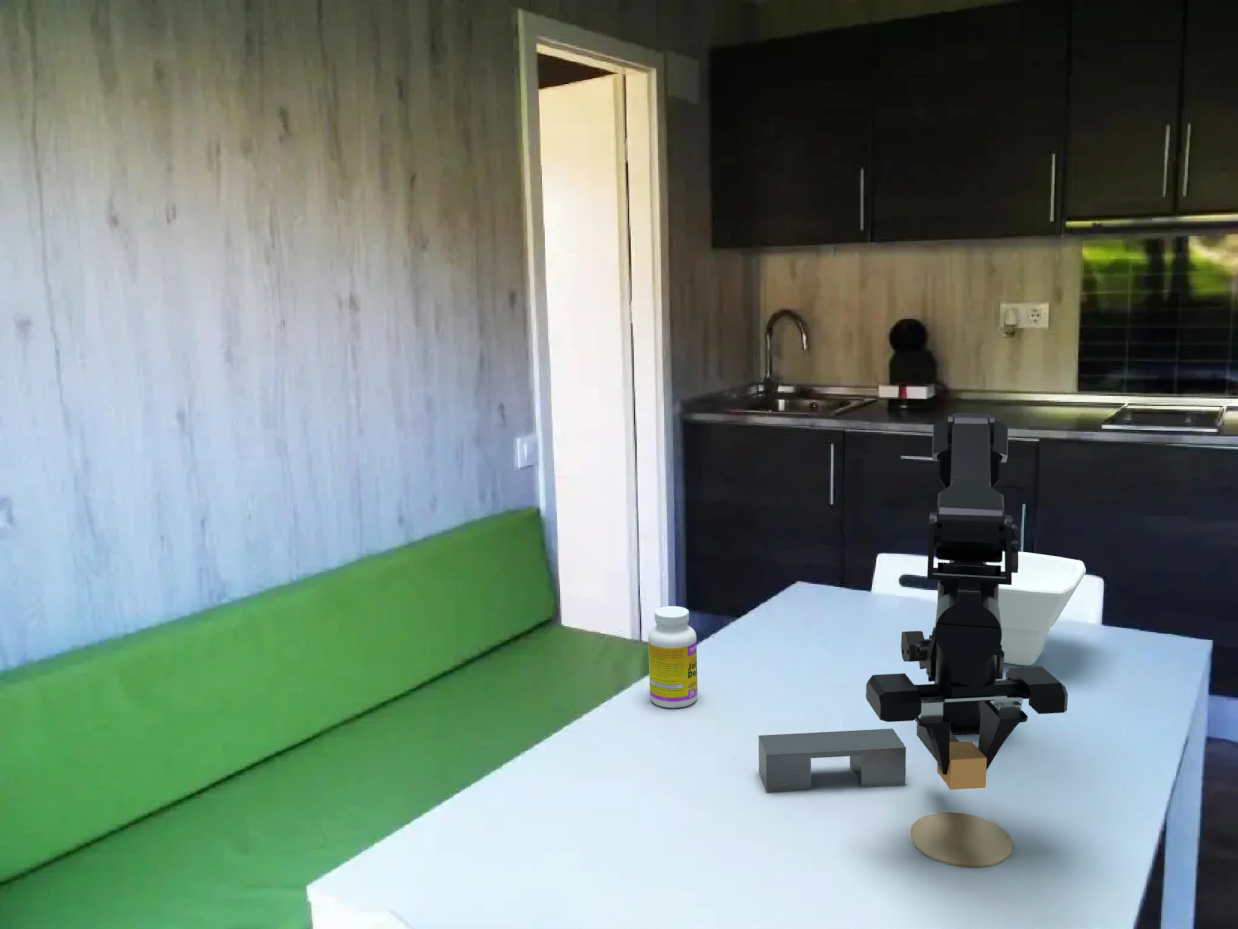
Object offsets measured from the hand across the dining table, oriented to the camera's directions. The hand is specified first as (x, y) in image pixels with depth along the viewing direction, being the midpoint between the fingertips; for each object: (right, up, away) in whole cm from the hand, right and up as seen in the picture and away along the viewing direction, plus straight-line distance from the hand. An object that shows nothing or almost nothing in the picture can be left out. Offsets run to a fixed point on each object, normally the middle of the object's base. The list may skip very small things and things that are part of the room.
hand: (962, 771), depth 107 cm
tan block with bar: (0, 0, +5) cm, 5 cm away
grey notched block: (-10, -5, +15) cm, 19 cm away
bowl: (+23, +2, +49) cm, 55 cm away
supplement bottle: (-27, -2, +39) cm, 47 cm away
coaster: (0, -7, +1) cm, 8 cm away
